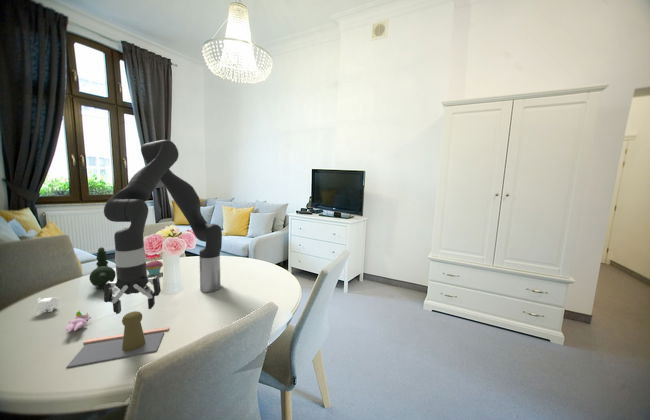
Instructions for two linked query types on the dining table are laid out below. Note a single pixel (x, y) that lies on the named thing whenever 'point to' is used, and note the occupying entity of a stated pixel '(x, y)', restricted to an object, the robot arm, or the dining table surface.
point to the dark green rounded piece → (102, 271)
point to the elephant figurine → (47, 304)
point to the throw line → (123, 335)
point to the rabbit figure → (78, 321)
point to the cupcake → (154, 267)
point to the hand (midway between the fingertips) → (134, 310)
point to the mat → (113, 350)
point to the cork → (132, 331)
